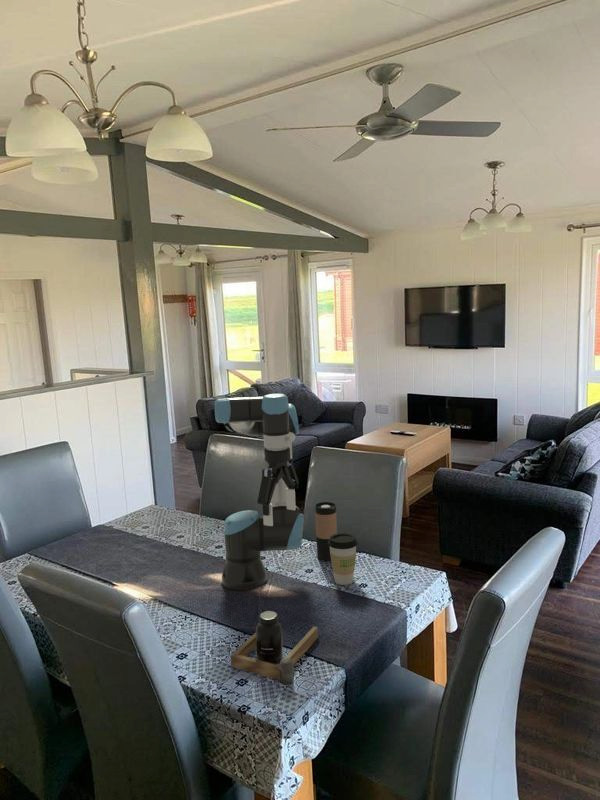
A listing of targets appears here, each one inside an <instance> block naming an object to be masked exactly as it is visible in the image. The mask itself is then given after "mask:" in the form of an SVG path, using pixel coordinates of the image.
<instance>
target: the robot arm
mask: <svg viewBox="0 0 600 800" xmlns="http://www.w3.org/2000/svg"><path fill="white" fill-rule="evenodd" d="M214 401H215V402H214V417H215V422H217V423H218V424H229V426H230V427H231V429H232V430H234V432H237V433H239V434H242V435H246V436H253V437H262V436H263V447H264V449H263V450H264V451H263V452H264V461H265V462H266V463H268V466H267V467H268V468H262V470H261V480H260V481H261V482H260V486H259V492H258V497H257V504H258V505H262V515H260V514H259V512H258V511H257V510H252V509H251V510H250V509H248V510H241V511H237V512H234V513H232V514H231V515H229V516H228V517H226V518H225V521H224V523H223V524H224V525H223V526H224V527H223V529H224V530H223V534H224V543H225V545H224V547H225V564H224V567H223V571H222V573H221V574H222V575H221V583H222V585H223V586H224V587H225V588H226V589H228V590H229V589H230V590H233V591H249V590H253V589H256V588H260V587H262V586H263V585H264V584H266V582H267V579H268V577H267V570H266V568H265V565H264V563H263V561H262V557H261V552H273V551H275V552H276V551H291V550H293V551H294V550H298V549H300V548H301V546H302V542H303V532H304V531H303V530H304V519H305V517H304V516H305V515H304V514H303V513H300V508H299V507H298V506H297V505H296V491H295V490H297V489H299V484H300V483H299V482H300V481H299V478H298V476H297V473H296V469H295V467H294V461H293V442H294V441H295V439H296V436H297V435H299V433H300V426H299V419H298V415H297V410H296V407H295V404H293V403H289V400H288V396H287V395H286V394H285V393H268V394H265V395H263V396H248V397H224V398H217V399H216V400H214Z"/></svg>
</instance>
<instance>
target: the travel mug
mask: <svg viewBox="0 0 600 800" xmlns="http://www.w3.org/2000/svg"><path fill="white" fill-rule="evenodd" d="M314 508H315V509H314V510H315V540H316V552H317V555H316V556H317V559H318V561H320V562H327V563H328V562H331V556H330V546H329V545H328V541H329V540H330V537H331V536H332V535H334V534H338V527H337V525H338V524H337V505H336V504H335V503H334V502H330V501H329V502H327V501H324V502H322V501H321V502H318V503H316V504H315V507H314Z"/></svg>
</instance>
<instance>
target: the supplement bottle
mask: <svg viewBox="0 0 600 800" xmlns="http://www.w3.org/2000/svg"><path fill="white" fill-rule="evenodd" d="M255 633H256V648H255V650H256V659H257V660H260V661H264V662H268V663H271V664H275V665H277V663H280V661H281V660H282V659H283V656H284V655H283V654H284V653H283V652H284V651H283V628H282V625H281V623H280V622H279V616H278V613H277V612H276V611H273V610H264V611H262V612H260V614H259V617H258V623H257V625H256V627H255Z"/></svg>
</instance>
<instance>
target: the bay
mask: <svg viewBox="0 0 600 800" xmlns="http://www.w3.org/2000/svg"><path fill="white" fill-rule="evenodd" d="M318 638H319V629H318V626H312V628H311V629H310V630H309V631H308V632H307V633H306V634H305V635H304V636H303V637H302V638H301V640H300V641H299V642H298V643H297V644H296V645H295V646H294V648H292V650H291V651H290V652H289V653H288V654H287V655H286V656H285V657H284V658H282V659H281V660H280V661H279V664H271V663H268V662H264V661H260V660H258V659H257V658H253V657H249V655H250V654H251V653H252V652H253V651H254V650H256V632H255V633H253V634H252V635H251V636H250V637H249V638H248V639H247V640H246V641H244V642H243V644H242V645H240V647H238V648H237V649H235V651H234V652H233V653H231V655H230V664H231V665H230V667H233V668H236V669H239V670H243V671H246V672H250V673H254V674H256V675H259V676H263V677H267V678H270V679H272V680H273V679H274V680H277V681H280V682H281V684H283V685H291V684H292V683H294V668H293V667H294V666H295V665H296V663H297V662H299V660H300V659H301V658H302V657H303V656H304V654H305V653H306V652H307V651H308V650H309V649H310V647H311V646H312V645H313V644H314V643H315V642H316V641H317V639H318Z"/></svg>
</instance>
